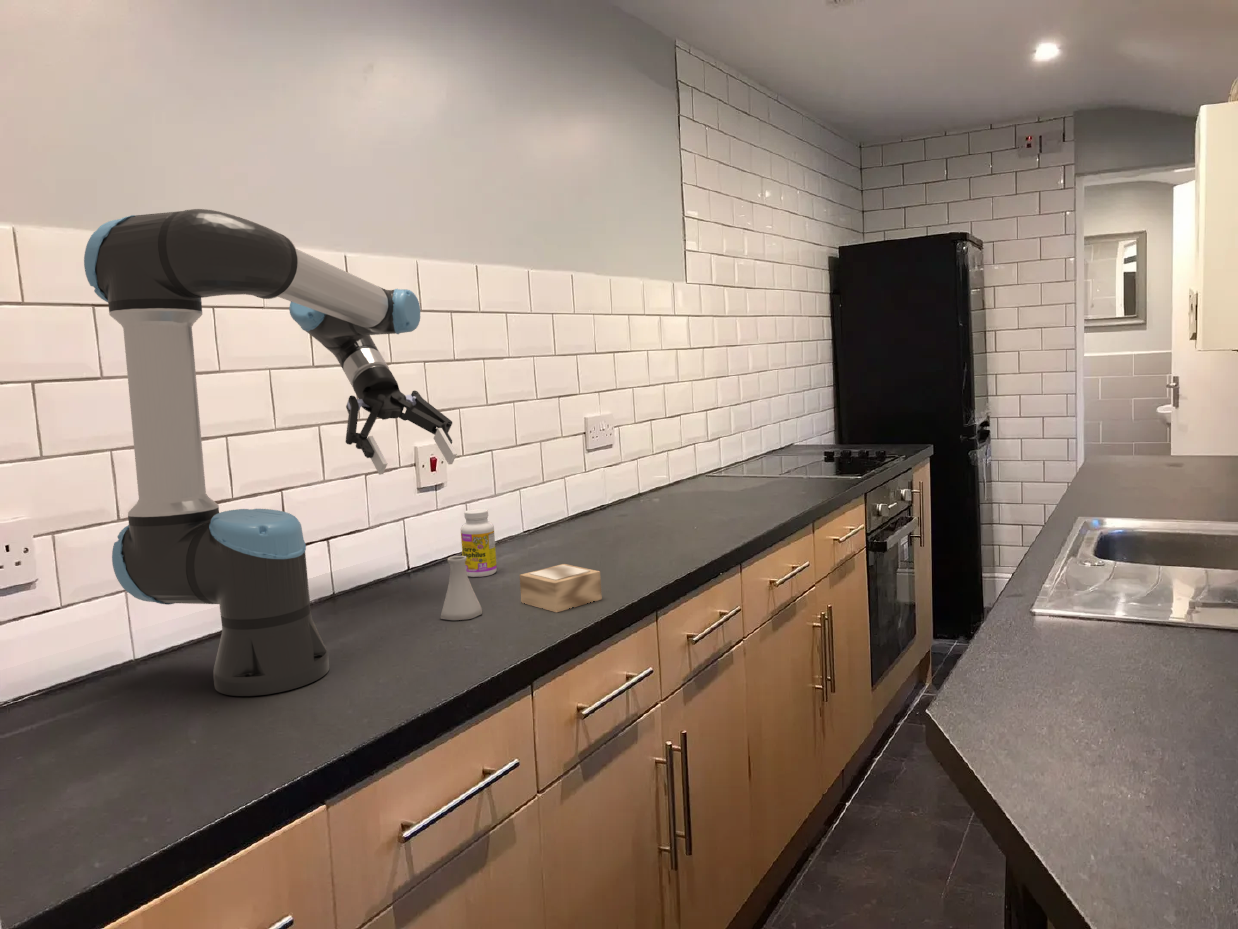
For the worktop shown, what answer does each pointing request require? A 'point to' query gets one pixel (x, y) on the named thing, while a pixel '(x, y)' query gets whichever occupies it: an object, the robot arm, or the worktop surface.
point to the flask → (460, 593)
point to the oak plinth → (560, 587)
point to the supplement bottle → (478, 544)
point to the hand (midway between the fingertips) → (419, 464)
